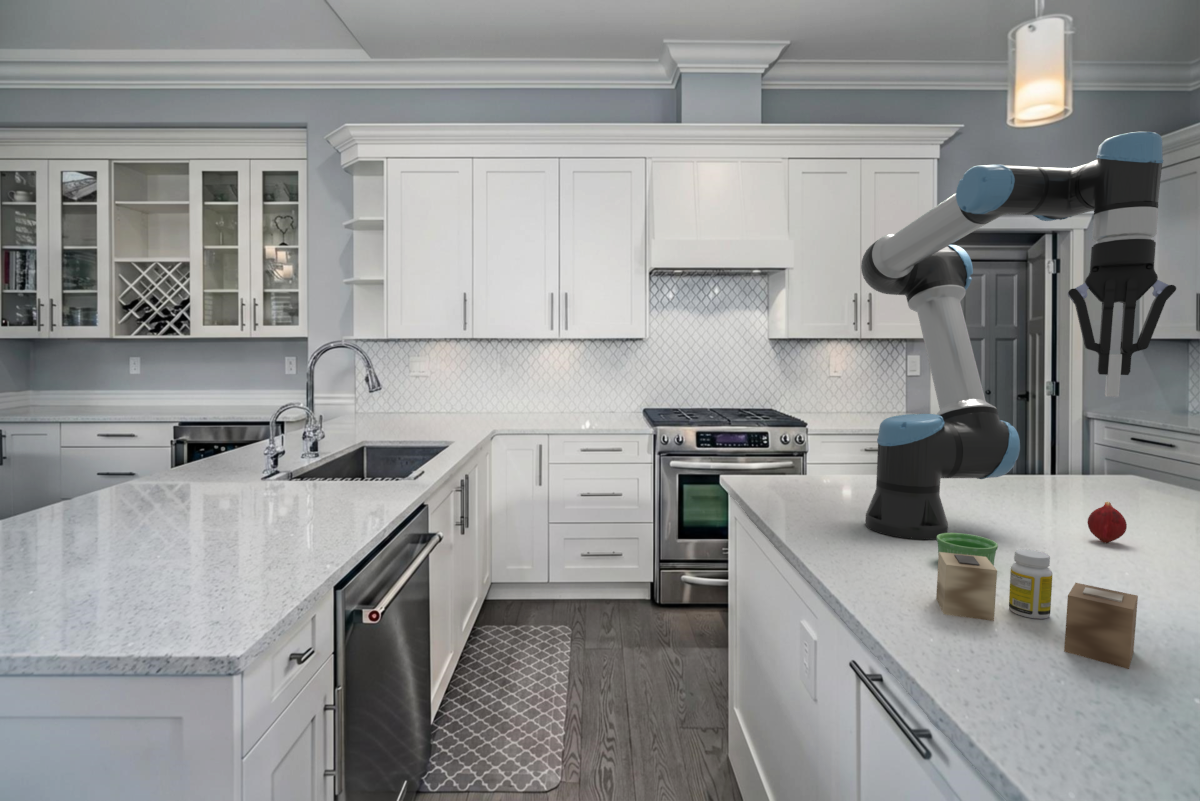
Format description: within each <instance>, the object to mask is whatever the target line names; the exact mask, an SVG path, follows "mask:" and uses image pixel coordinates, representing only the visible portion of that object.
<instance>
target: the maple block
mask: <svg viewBox="0 0 1200 801" xmlns="http://www.w3.org/2000/svg"><path fill="white" fill-rule="evenodd" d="M937 559H938V560H937V562H938V563H937V574H936V575H937V577H936V579H937V580H936V594H935V595H936V596H935V598H936V601H937V603H938V605H939V607H940V610H941V613H942V614H943V615H945V616H946V615H947V616H952V617H960V618H969V619H977V620H983V621H991V622H995V614H996V613H995V611H996V610H995V609H996V593H997V580H998V577H997V576H998V569H997V568H996V567H995V566H993V565H992V563H991V562H990V561H989V560H988V558H987V557H983V556H974V555H964V554H954V553H945V552H939V557H938V558H937Z"/></svg>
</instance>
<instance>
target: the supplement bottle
mask: <svg viewBox="0 0 1200 801" xmlns="http://www.w3.org/2000/svg"><path fill="white" fill-rule="evenodd" d="M1013 559H1014V563H1012V564H1011V566H1010V573H1009V574H1010V578H1009V579H1010V580H1009V594H1008V595H1009V597H1008V598H1009V599H1008V607H1009V610H1010V611H1011V612H1013V613H1014V614H1016V615H1019V616H1021V617H1025V618H1028V619H1039V620H1045V619H1049V618H1050V616H1051V609H1052V608H1051V607H1052V590H1053V588H1052V587H1053V571H1052V570H1051V569H1050V568H1049V567H1050V564H1051V561H1050V560H1051V556H1050V554H1048V553H1046V552H1045V551H1040V550H1035V549H1030V548H1029V549H1028V548H1018V549H1015V550H1014V556H1013Z"/></svg>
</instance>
